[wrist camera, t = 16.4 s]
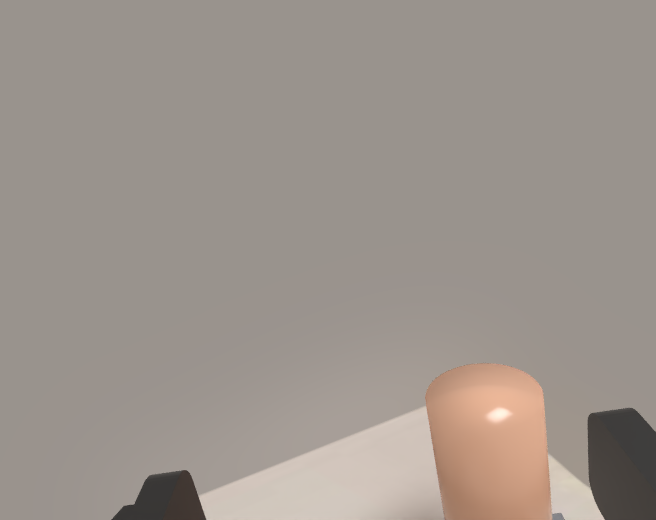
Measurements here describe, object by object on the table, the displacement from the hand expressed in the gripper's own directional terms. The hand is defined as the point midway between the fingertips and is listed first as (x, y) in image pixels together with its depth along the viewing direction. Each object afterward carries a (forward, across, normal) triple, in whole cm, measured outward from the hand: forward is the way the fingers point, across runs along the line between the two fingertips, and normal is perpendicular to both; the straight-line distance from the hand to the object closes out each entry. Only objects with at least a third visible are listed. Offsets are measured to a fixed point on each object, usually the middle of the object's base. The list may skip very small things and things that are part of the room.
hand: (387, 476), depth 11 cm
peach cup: (+18, -6, +27) cm, 33 cm away
